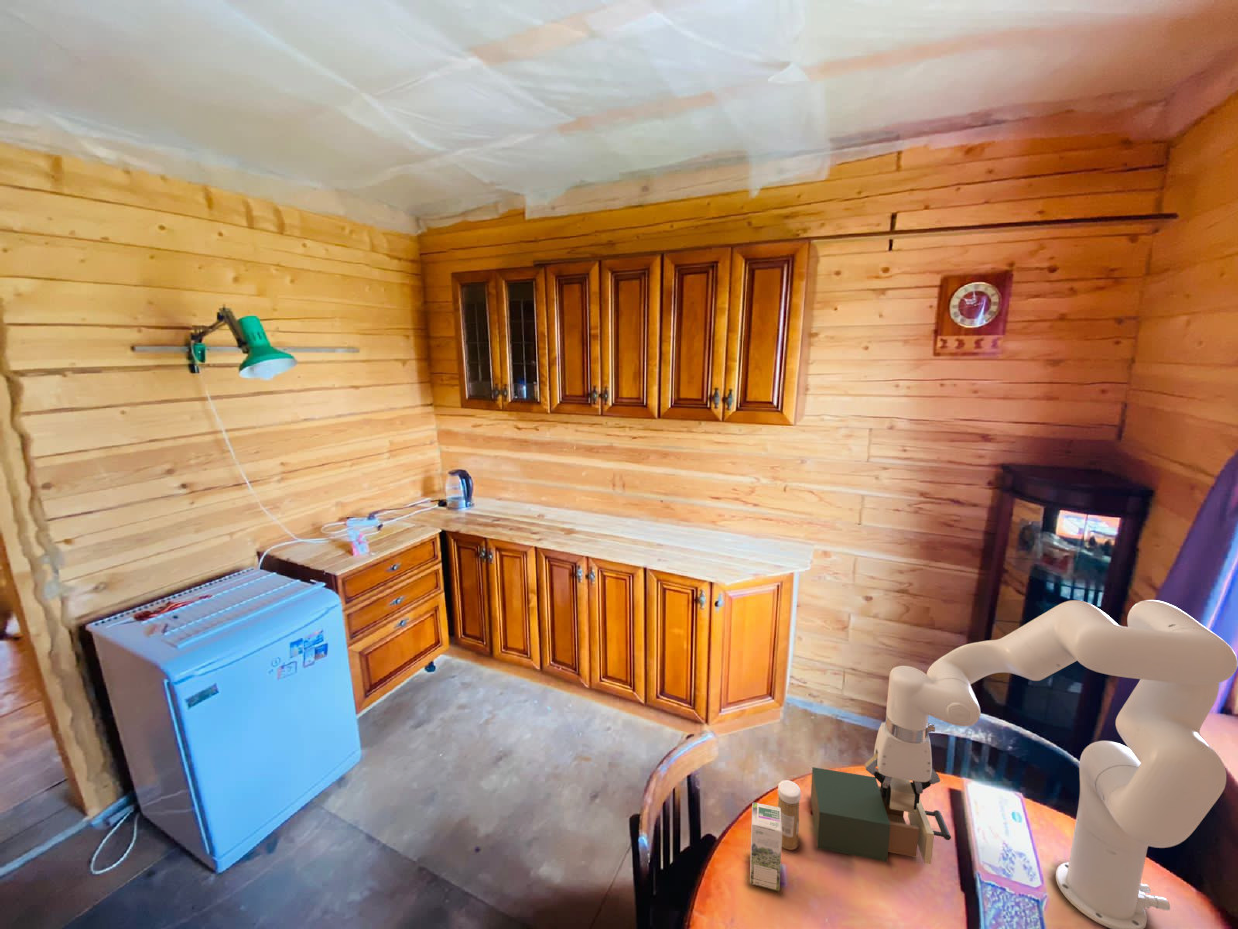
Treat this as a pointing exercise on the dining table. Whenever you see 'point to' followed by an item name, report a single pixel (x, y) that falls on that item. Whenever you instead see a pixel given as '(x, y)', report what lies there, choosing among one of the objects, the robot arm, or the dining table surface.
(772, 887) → the syrup box
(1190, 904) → the dining table surface
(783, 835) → the spice jar
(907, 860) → the dining table surface
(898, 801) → the block
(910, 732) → the robot arm
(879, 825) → the cabinet
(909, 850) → the drawer
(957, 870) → the dining table surface
